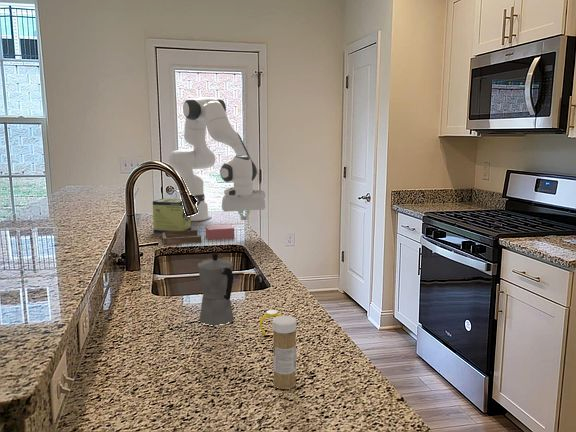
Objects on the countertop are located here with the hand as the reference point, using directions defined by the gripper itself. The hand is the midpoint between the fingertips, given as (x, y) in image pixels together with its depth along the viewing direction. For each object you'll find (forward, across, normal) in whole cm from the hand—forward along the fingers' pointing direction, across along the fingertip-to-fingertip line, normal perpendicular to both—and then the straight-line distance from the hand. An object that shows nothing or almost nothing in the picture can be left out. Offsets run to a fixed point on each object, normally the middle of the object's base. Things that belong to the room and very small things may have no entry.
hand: (244, 219), depth 223 cm
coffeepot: (+9, +28, +100) cm, 104 cm away
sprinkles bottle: (+10, +21, +134) cm, 137 cm away
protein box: (+7, +32, -20) cm, 38 cm away
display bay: (+7, +29, 0) cm, 30 cm away
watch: (+9, +17, +112) cm, 113 cm away
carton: (+8, +12, 0) cm, 14 cm away
